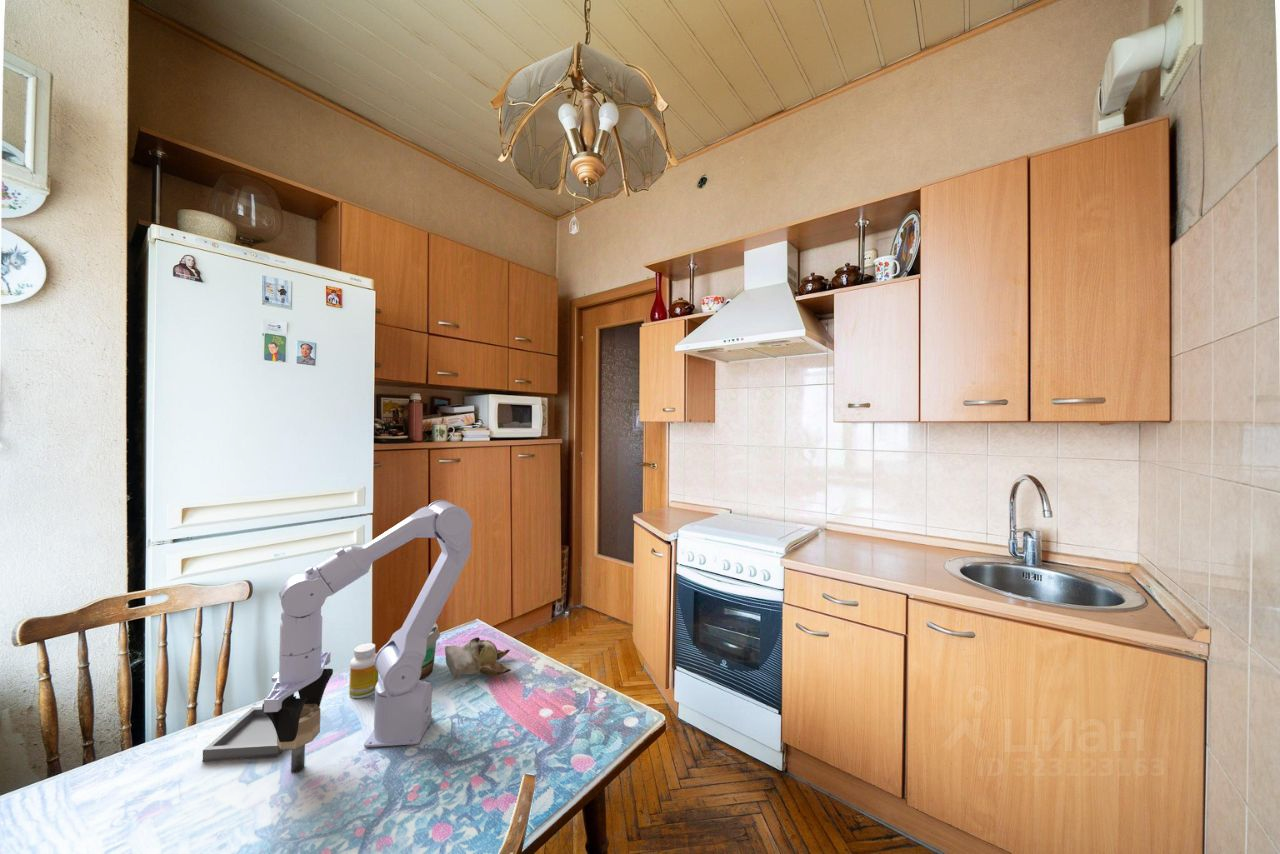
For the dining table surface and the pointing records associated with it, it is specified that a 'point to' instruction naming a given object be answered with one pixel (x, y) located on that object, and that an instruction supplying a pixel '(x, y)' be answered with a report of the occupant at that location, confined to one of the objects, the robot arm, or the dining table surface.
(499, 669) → the ceramic sculpture
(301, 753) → the stake
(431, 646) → the food container
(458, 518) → the robot arm
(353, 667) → the supplement bottle
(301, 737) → the ring
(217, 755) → the tray
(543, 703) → the dining table surface
